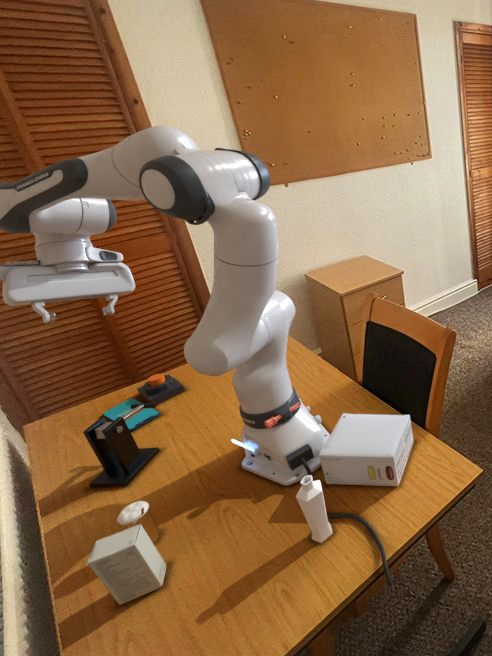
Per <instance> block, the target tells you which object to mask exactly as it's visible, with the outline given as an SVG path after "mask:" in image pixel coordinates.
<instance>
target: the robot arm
mask: <svg viewBox="0 0 492 656" xmlns="http://www.w3.org/2000/svg"><path fill="white" fill-rule="evenodd" d="M270 186H271V175H270V172H269V169H268V168H267V166H266V164H265V163H264V162H263V161H262V159H260V157H258V156H256V155H255V154H253V153H250V152H247V151H243V150H237V149H230V148H223V147H216V148H214V149H213V150H204V149H201V148H200V147H199V146H198V145H197V143H196V142H195V141H194V140H193V138H191V137H190V135H188V134H187V133H185V132H184V131H182V130H180V129H178V128H176V127H173V126H169V125H153V126H151V127H147V128H144V129H141V130H139V131H136V132H135V133H133V134H130V135H129V136H127V137H125V138H124V139H122V140H120V141H119V142H118V143H116V144H114V145H113V146H110V147H108V148H106V149H103V150H100V151H97V152H94V153H91V154H90V153H89V154H86V155H82V156H78V157H73V158H68V159H64V160H60V161H58V162H55V163H53V164H50V165H48V166H45V167H44V168H42V169H39V170H37V171H36V172H33V173H31V174H29V175H27V176H25V177H23V178H20V179H18V180H17V181H4V182H2V183H0V230H2V231H4V232H5V233H7V234H10V235H14V234H20V235H21V234H33V236H34V238H35V244H34V250H35V256H36V260H23V261H15V260H12V261H6V262H5V263H3V264H0V282H2V300H3V303H4V304H6V305H8V306H9V307H19V306H29V305H31V308H32V311H34V312H36V313H37V314H38V315H39V316H41V317H42V321H43V324H49V323H50V324H51V323H55V322H56V321H57V318H56V312H49V311H47V309H45V308H44V307H45V306H46V303H56V302H57V303H59V302H67V301H77V300H87V299H97V298H106V299H105V300H106V301H107V302H108V304H107V306H104V307H102V309H101V310H102V312H103V313H102V315H103V316H111V315H114V314H115V312H116V311H115V306H116V303H117V301H118V299H119V297H118V296H125V295H126V296H127V295H130V294H132V293H133V292H134V290H135V289H136V282H135V279H134V276H133V274H132V272H131V271H132V270H131V269H130V268H129V266H128V265H126V264H125V263H123V261H124V255H123V254H122V253H121V252H118V251H113V250H108V249H102V248H97V247H94V246H93V243H92V241H91V239H90V238H91V237H92V236H98V235H102V234H104V233H106V232H108V231H109V230H111V229H112V228H114V226H115V225H116V224H117V221H118V220H117V219H118V216H117V215H118V214H117V210H116V206H115V204H114V203H113V202H112V200H113V201H128V202H144V201H147V203H148V204H149V205H151V206H152V207H153V208H154V209H156V210H158V211H159V212H161V213H163V214H164V215H166V216H169V217H172V218H174V219H178V220H179V219H180V220H184V222H186V223H188V224H190V225H192V226H200V225H203V224H205V223H206V222H207V223H208V224H209V225H210V227H211V229H212V231H213V284H212V288H211V292H210V296H209V298H208V302H207V305H206V307H205V309H204V312H203V314H202V316H201V318H200V321H199V323H198V325H197V326H196V328H195V330H194V331H193V332H192V333H191V335H190V336H189V337H188V339H187V340H186V341H185V343H184V345H183V353H184V354H183V355H184V358H185V361H186V363H187V365H188V366H189V367H190V368H191V369H193V370H194V371H195V372H197V373H198V374H201V375H204V376H208V377H220V376H222V375H223V376H224V374H227V373H229V372H231V371H233V370H234V372H233V375H232V380H231V381H232V387H233V389H234V392H235V396H236V398H237V401H238V404H239V409H238V410H239V415H240V418H241V420H242V422H243V424H244V425H243V428H242V431H241V434H240V438H241V441H238V440H237V439H234V438H232V439H231V442H232V443H233V444H235V445H237V446H240V447H242V448H243V450H244V455H245V457H244V458H243V459H242V461H241V469H243V470H245V471H248V472H250V473H253V474H255V475H258V476H260V477H262V478H265V479H266V480H267V479H268V480H270V481H272V482H274V483H277V484H279V485H283V486H285V487H287V486H290V485H293V484H296V483H298V482H301V480H302V479H303V477H304V476H308V475H312V478H313V481H316V480H315V477H314V475H313V473H314V472H315V471H317V470H318V469H319V468H321V467H322V465H321V461H320V458H319V453H320V452H321V450H322V448H323V446H324V445H325V443H326V441H327V440H328V438H329V436H330V435H331V433H330V432H328V431H327V429H326V428H325V427H324V426H323V425H322V424H323V419H322V416H321V415H320V414H316V415H312V414H311V413H310V411H312V410H311V409H312V408H311V407H310V405H306V406H305V405H304V404H303V401H302V400H301V398H300V397H299V394H298V392H297V391H296V389H295V387H294V386H293V385H292V382H291V378H290V374H289V370H288V369H289V368H288V364H287V363H288V361H287V350H288V341H289V340H288V339H289V333H290V329H291V326H292V324H293V321H294V319H295V316H296V306H295V304H294V302H293V300H292V299H291V298H290V296H288V295H287V294H286V293H284V292H282V291H280V290H277V287H278V277H279V275H278V273H279V257H280V238H279V229H278V222H277V217H276V215H275V212H274V211H273V209H272V208H271V207H270V206H268V205H267V204H266V203H263V202H261V201H258V200H259V199H261V198H262V197H264V196H265V195H266V194H267V193H268V192H269V190H270V188H271V187H270ZM326 513H327V518H350V519H353V520H355V521H357V522H359V523H360V524H361V525H362V526H364V527H365V528H366V529H367V530H368V532H369V533H370V535H371V537H372V538H373V539H374V541H375V543H376V545H377V547H378V549H379V552H380V557H381V563H382V567H383V572H384V574H385V578H386V581H387V585H388V587H393V586H394V582H393V580H392V576H391V572H390V570H389V566H388V560H387V556H386V552H385V549H384V546H383V544H382V543H383V542H381V540H380V537H379V536H378V534H377V532H376V530H375V529H374V528H373V526H372V525H371V524H370V523H369V522H367V520H365V519H364V518H362V517H361V516H359V515H357V514H354V513H351V512H350V513H349V512H335V513H334V512H332V513H331V512H326Z"/></svg>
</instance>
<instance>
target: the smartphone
mask: <svg viewBox="0 0 492 656" xmlns="http://www.w3.org/2000/svg"><path fill="white" fill-rule="evenodd" d="M132 404H144V402H141V401H139V400H137V399H136V398H133V397H132V398H129V399H126V400H125V401H123V402H122V403H120V404H117V405H115V406H113V407H112V408H110V409H108V410H106V411H104V412H103V413H102V416H103V418H105V419H106V420H109V421H110V422H113V421H114V420H115V419H117V418H118V417H122V416H124V415H125V414H127V413H128V412H130V411H132V410H133V409H131V408H130V406H131V405H132ZM160 415H161V412H160V411H158V410H157V409H155V408H145V409H143V410H142V411H140V412H139V413H137V414H136V415H134V416H133V417H131V418H130V419H128V420H127V421H125V422H126V424H127V426H128V428H129V430H130V432H133V431H135V430H137V429H139V428H140V427H141V426H144V425H145V424H147V423H150V422H151V421H152V420H154V419H156V418H158V417H159V416H160Z"/></svg>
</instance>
